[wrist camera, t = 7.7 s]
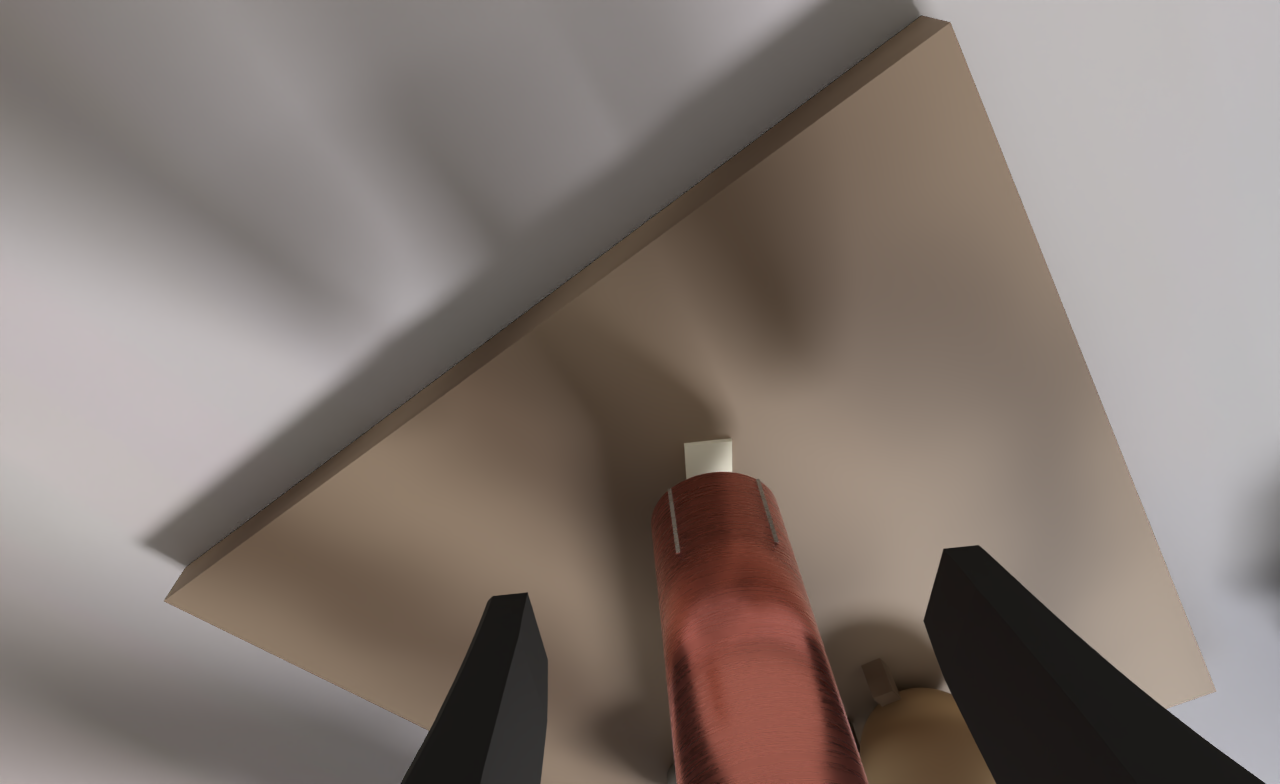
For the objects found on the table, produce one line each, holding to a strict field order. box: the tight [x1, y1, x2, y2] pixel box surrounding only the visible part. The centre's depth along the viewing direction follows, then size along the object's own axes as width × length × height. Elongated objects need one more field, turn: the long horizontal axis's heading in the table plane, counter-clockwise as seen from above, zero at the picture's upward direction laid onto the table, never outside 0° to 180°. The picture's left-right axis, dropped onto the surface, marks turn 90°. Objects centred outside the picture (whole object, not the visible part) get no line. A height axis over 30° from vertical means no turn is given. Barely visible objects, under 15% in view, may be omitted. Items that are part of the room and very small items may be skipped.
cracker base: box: [164, 16, 1216, 784], centre depth 17 cm, size 20×24×4 cm
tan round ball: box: [860, 688, 996, 784], centre depth 18 cm, size 4×4×4 cm
